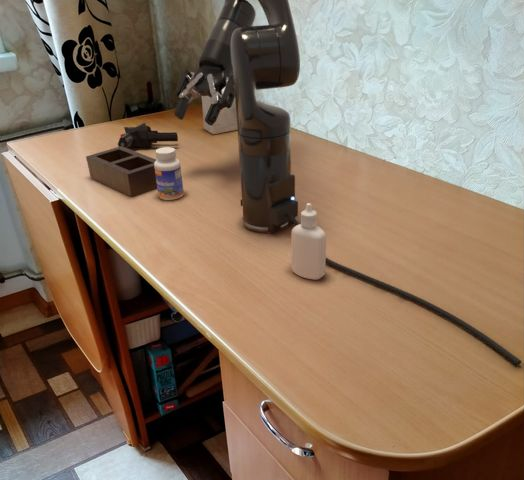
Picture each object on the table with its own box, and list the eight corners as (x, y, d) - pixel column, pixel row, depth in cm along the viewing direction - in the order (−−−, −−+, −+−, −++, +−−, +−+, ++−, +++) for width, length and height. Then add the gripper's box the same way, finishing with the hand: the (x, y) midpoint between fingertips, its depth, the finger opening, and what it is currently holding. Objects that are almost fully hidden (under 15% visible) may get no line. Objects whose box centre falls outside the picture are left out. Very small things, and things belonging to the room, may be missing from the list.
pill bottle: (154, 199, 121) (146, 153, 115) (165, 189, 125) (158, 145, 120) (177, 201, 120) (171, 155, 114) (188, 191, 124) (182, 146, 118)
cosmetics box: (213, 135, 155) (209, 94, 148) (203, 129, 159) (199, 89, 153) (247, 128, 159) (245, 87, 152) (237, 122, 163) (234, 83, 157)
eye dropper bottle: (312, 263, 97) (313, 195, 90) (328, 278, 93) (330, 208, 86) (289, 268, 96) (288, 200, 88) (303, 284, 92) (304, 213, 84)
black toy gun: (185, 118, 154) (131, 118, 156) (168, 132, 138) (108, 133, 139) (187, 138, 157) (134, 139, 159) (170, 155, 141) (111, 155, 142)
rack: (167, 184, 128) (164, 162, 125) (131, 197, 123) (127, 174, 120) (125, 166, 138) (121, 145, 135) (90, 177, 133) (85, 156, 130)
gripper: (188, 35, 121) (157, 105, 121) (241, 40, 114) (209, 115, 114) (207, 58, 127) (178, 125, 127) (258, 64, 120) (228, 135, 120)
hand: (193, 120), depth 120 cm, fingers open, 8 cm apart
